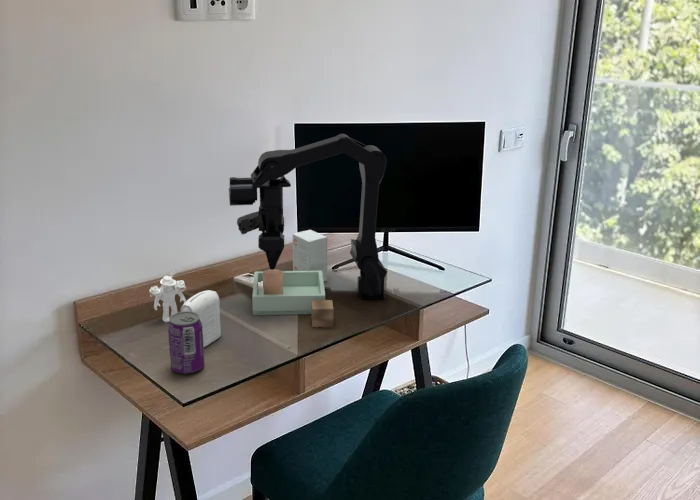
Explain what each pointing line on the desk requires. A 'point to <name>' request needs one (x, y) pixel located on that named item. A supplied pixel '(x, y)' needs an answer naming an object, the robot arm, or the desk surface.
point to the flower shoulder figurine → (168, 295)
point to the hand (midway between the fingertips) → (272, 262)
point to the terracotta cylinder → (273, 282)
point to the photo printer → (206, 314)
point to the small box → (310, 252)
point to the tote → (289, 294)
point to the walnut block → (322, 313)
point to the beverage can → (186, 342)
